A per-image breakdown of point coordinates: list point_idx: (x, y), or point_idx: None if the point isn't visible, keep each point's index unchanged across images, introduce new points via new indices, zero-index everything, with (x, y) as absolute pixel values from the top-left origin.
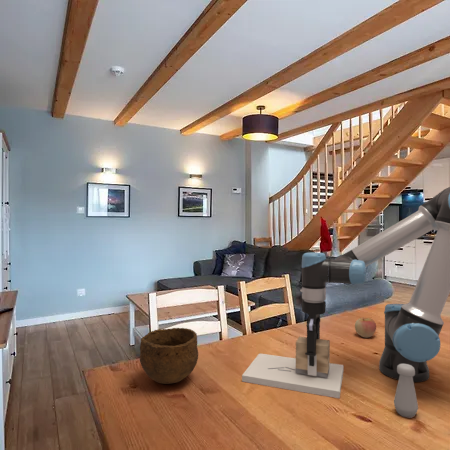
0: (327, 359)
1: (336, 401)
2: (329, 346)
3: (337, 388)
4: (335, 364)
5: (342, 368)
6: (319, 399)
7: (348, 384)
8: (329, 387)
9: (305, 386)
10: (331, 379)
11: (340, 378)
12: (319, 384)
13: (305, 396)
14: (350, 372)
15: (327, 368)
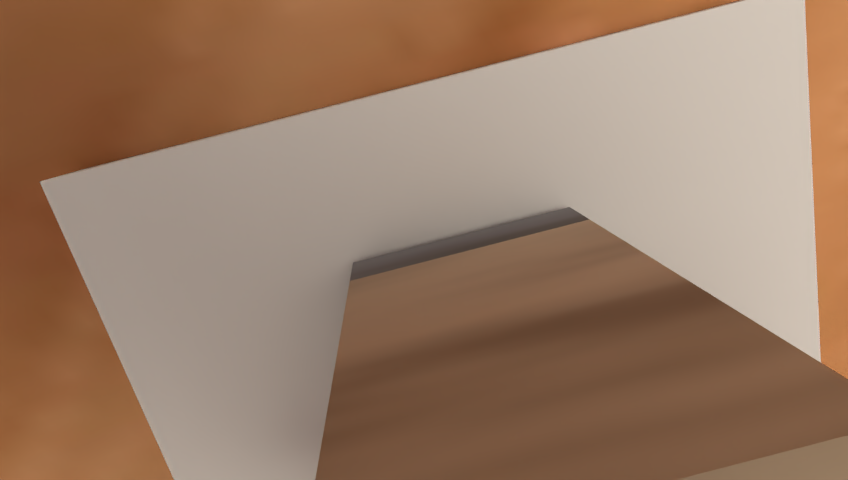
0: (687, 281)
1: (820, 5)
2: (356, 444)
3: (741, 30)
4: (97, 271)
5: (156, 158)
6: (844, 155)
7: (394, 11)
8: (752, 116)
9: (813, 323)
10: (549, 165)
11: (464, 85)
12: (732, 228)
13: (838, 274)
14: (60, 86)
15: (614, 237)
